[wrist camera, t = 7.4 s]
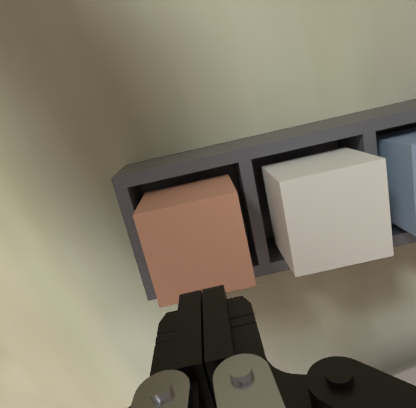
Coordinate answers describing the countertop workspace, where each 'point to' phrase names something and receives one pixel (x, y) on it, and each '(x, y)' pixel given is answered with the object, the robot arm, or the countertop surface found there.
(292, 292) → the countertop surface
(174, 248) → the terracotta key
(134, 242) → the key panel
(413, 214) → the slate key
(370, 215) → the white key
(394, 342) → the countertop surface
